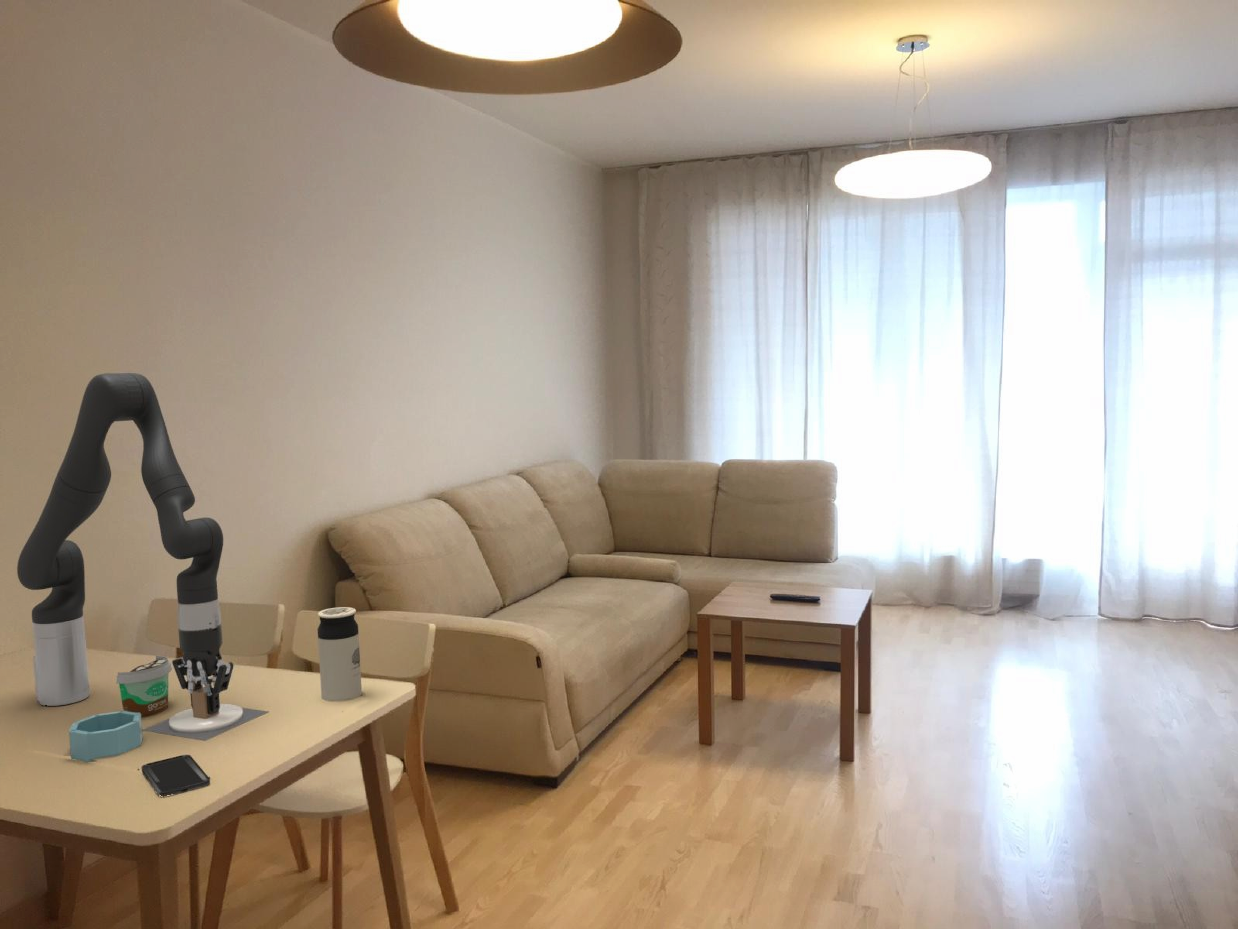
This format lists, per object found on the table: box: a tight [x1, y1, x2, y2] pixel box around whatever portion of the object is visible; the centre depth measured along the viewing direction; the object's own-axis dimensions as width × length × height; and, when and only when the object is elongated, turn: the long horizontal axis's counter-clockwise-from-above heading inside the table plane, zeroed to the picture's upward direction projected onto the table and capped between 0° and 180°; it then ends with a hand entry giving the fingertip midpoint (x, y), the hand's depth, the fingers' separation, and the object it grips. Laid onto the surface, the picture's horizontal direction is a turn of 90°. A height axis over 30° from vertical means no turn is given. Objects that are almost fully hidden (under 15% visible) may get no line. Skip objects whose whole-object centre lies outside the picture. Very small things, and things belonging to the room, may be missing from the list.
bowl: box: [68, 710, 144, 763], centre depth 175 cm, size 11×11×5 cm
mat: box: [142, 707, 270, 742], centre depth 187 cm, size 16×16×1 cm
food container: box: [115, 655, 173, 718], centre depth 194 cm, size 12×6×10 cm, turn 168°
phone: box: [141, 754, 211, 796], centre depth 162 cm, size 8×1×15 cm
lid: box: [169, 686, 243, 733], centre depth 187 cm, size 13×13×6 cm
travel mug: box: [317, 606, 363, 702], centre depth 200 cm, size 8×8×18 cm
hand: (206, 711), depth 187 cm, fingers closed on lid, 3 cm apart
